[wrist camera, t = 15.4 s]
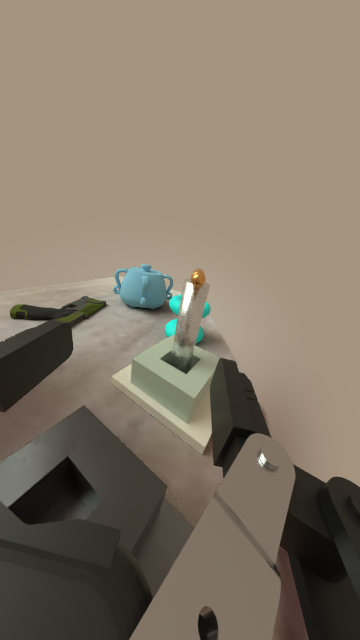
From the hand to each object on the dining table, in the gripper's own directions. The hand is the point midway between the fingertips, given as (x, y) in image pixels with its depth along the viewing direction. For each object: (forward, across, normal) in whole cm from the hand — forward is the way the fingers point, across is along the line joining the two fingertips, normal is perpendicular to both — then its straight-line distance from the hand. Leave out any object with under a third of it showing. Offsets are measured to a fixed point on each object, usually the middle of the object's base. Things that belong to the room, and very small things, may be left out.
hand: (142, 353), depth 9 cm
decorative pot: (+48, +14, +17) cm, 53 cm away
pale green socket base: (+13, -3, +16) cm, 21 cm away
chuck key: (+13, -3, +14) cm, 20 cm away
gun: (+31, +30, +17) cm, 47 cm away
